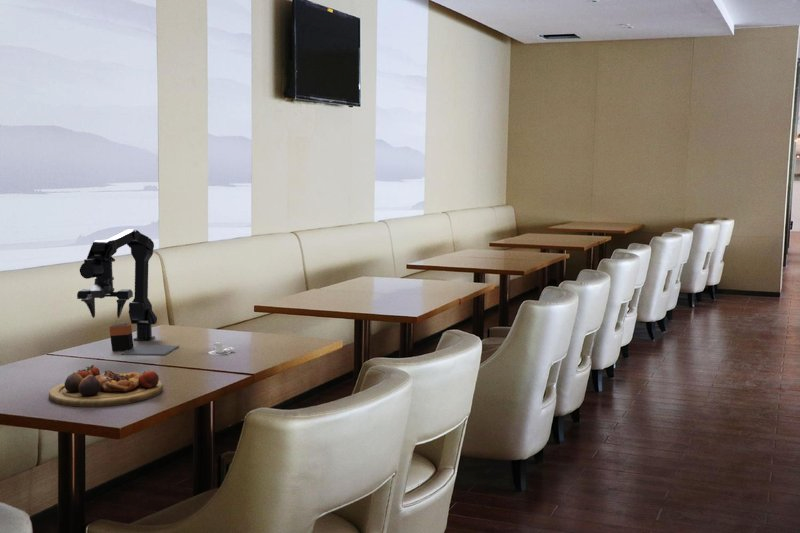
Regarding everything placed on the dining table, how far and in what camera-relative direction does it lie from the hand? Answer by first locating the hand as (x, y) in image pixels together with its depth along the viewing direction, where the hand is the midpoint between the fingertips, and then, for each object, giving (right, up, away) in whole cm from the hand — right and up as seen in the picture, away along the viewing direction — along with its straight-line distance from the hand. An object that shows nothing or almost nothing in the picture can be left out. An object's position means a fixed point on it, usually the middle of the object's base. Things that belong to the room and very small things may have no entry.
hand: (106, 317), depth 326 cm
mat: (+16, -12, +2) cm, 20 cm away
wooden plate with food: (+20, -20, -61) cm, 67 cm away
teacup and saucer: (+44, -14, -3) cm, 46 cm away
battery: (+5, -12, +3) cm, 13 cm away
